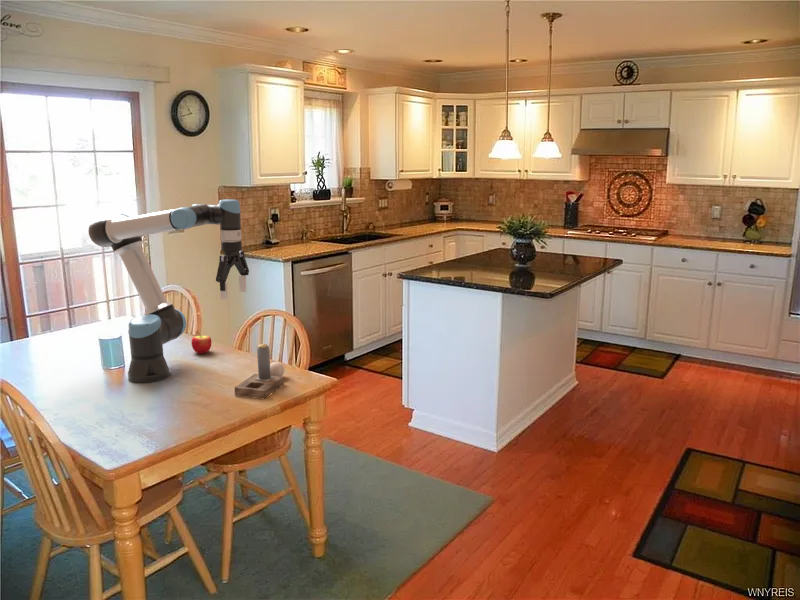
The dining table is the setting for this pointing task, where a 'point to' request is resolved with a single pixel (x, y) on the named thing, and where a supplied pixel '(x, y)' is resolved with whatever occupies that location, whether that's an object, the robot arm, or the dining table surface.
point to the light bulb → (276, 369)
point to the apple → (201, 344)
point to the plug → (263, 361)
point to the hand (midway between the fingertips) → (233, 295)
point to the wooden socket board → (258, 386)
